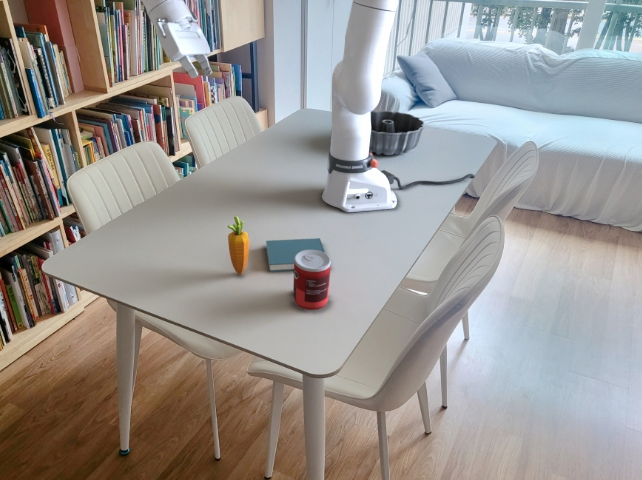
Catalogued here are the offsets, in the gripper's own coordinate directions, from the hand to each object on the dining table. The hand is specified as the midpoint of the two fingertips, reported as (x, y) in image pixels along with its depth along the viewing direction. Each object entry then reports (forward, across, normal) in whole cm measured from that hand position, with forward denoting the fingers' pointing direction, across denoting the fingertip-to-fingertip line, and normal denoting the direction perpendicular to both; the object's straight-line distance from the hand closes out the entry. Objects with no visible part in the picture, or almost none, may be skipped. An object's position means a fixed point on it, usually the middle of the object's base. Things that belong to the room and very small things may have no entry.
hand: (202, 76), depth 124 cm
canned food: (+55, -23, -5) cm, 60 cm away
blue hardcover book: (+49, -7, -1) cm, 49 cm away
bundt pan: (+45, +74, -24) cm, 90 cm away
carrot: (+44, -17, +10) cm, 48 cm away
